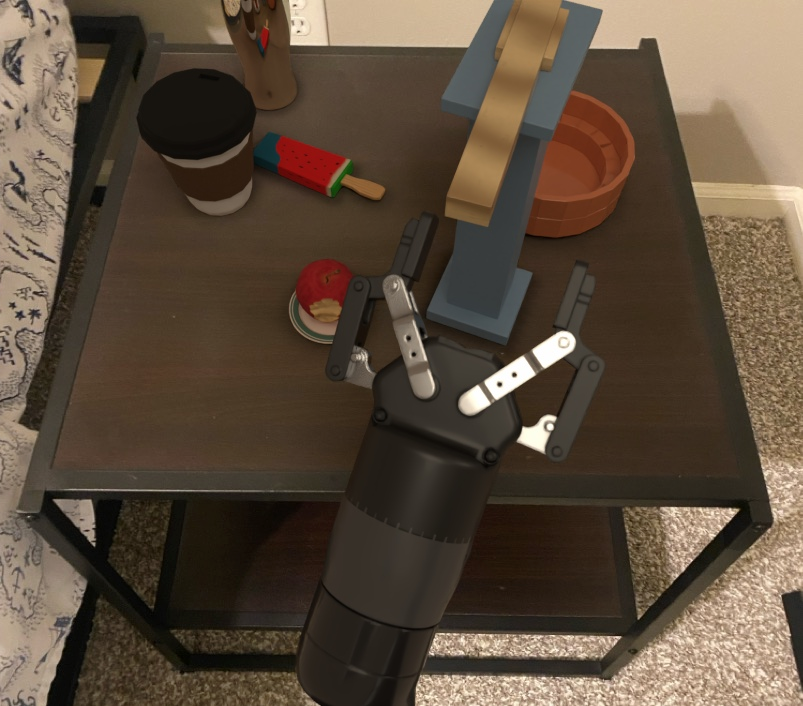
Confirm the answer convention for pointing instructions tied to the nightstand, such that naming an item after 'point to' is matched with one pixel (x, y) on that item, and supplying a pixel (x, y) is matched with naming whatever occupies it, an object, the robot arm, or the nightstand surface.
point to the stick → (505, 106)
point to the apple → (319, 299)
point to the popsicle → (311, 166)
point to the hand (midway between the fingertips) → (505, 237)
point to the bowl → (581, 169)
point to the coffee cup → (202, 136)
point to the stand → (502, 240)
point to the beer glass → (263, 48)
